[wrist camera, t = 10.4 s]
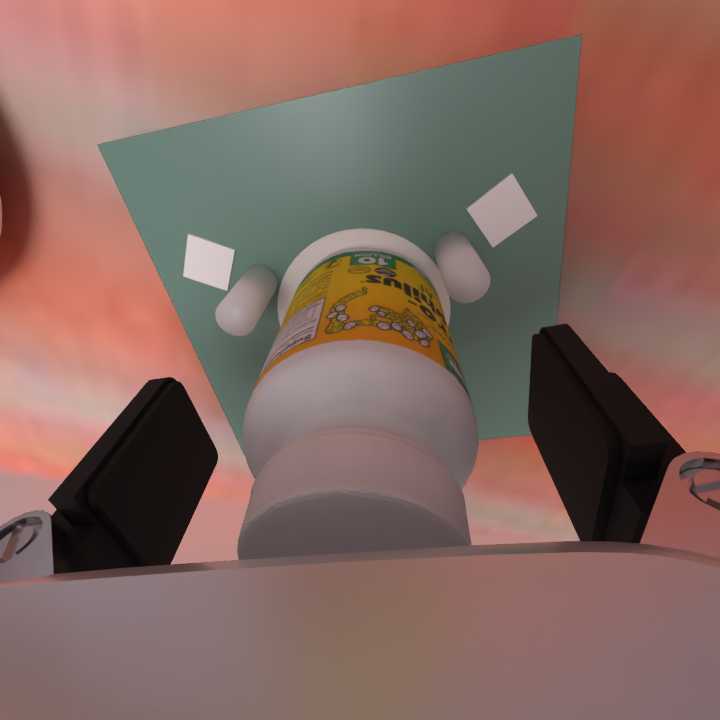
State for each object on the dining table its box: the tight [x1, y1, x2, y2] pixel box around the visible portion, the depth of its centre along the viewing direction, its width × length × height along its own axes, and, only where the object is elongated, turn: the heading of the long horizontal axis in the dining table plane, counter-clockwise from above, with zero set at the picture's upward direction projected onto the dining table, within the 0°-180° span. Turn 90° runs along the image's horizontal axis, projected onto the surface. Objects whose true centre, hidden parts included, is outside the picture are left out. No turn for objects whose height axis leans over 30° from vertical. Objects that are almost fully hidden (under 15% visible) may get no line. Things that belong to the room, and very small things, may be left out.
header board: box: [98, 34, 582, 455], centre depth 14 cm, size 14×14×4 cm
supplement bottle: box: [237, 247, 478, 560], centre depth 11 cm, size 5×5×10 cm
